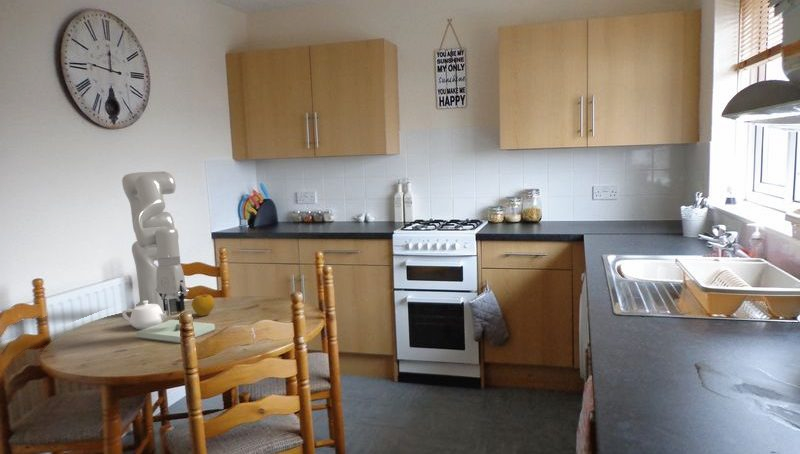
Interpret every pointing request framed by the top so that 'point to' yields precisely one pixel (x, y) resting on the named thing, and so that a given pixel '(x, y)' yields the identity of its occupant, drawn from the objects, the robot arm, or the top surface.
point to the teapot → (145, 315)
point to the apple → (203, 304)
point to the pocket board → (172, 331)
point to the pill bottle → (171, 305)
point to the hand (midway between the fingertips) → (174, 310)
